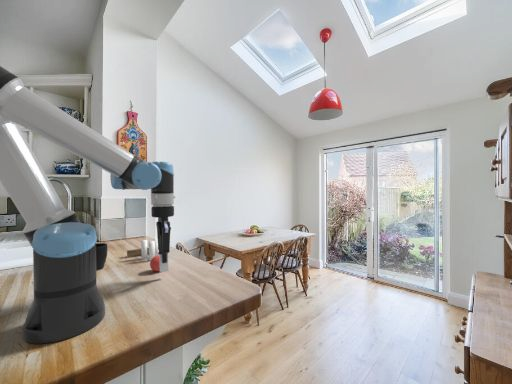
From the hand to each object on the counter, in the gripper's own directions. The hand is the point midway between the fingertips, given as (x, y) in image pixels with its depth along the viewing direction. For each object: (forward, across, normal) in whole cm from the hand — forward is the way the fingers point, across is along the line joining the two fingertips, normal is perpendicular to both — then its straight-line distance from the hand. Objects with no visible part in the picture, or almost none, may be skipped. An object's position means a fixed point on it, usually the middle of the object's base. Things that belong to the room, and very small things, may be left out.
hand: (163, 270), depth 85 cm
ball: (0, +10, 0) cm, 10 cm away
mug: (+3, +27, +21) cm, 35 cm away
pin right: (+3, +30, -2) cm, 30 cm away
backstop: (+3, +37, 0) cm, 37 cm away
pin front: (+3, +26, 0) cm, 26 cm away
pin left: (+3, +30, +3) cm, 30 cm away
